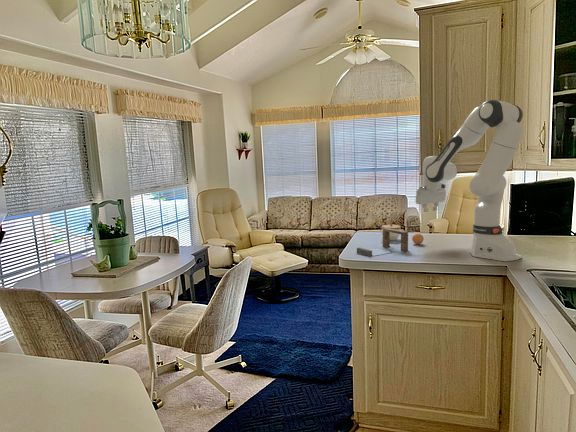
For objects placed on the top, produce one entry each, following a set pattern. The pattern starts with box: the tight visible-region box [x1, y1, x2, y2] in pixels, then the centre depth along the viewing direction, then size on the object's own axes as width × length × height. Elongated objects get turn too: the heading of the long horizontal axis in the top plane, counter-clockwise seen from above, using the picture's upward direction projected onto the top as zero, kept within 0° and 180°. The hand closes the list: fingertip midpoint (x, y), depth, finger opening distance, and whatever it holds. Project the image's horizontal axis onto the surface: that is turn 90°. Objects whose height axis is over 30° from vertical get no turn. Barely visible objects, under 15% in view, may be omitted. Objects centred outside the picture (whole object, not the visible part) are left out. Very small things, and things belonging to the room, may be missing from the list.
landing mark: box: [368, 248, 393, 257], centre depth 220 cm, size 12×12×1 cm
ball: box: [411, 232, 424, 245], centre depth 235 cm, size 6×6×6 cm
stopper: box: [356, 247, 372, 257], centre depth 216 cm, size 9×2×2 cm, turn 32°
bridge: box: [382, 228, 409, 252], centre depth 226 cm, size 3×15×10 cm, turn 32°
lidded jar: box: [381, 223, 402, 241], centre depth 249 cm, size 11×11×9 cm
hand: (430, 211), depth 238 cm, fingers open, 5 cm apart
